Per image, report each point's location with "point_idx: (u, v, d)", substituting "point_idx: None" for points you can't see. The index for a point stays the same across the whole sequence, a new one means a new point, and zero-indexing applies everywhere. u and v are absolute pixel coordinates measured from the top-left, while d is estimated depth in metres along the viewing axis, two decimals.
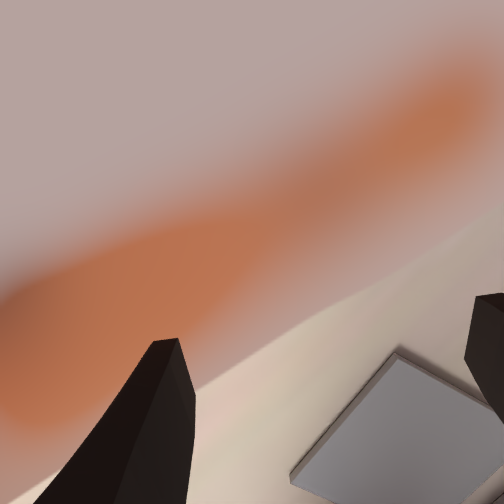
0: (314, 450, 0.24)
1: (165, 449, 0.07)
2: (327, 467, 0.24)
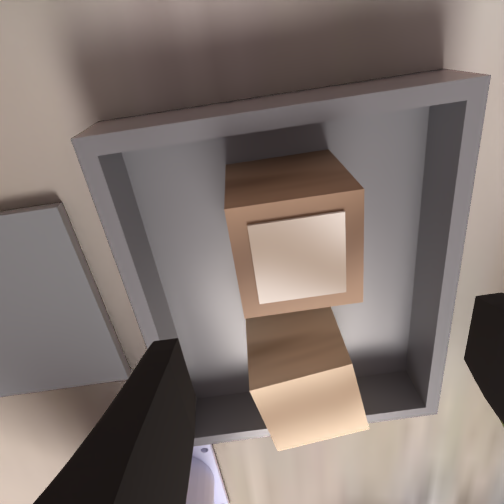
0: None
1: (165, 449, 0.07)
2: None
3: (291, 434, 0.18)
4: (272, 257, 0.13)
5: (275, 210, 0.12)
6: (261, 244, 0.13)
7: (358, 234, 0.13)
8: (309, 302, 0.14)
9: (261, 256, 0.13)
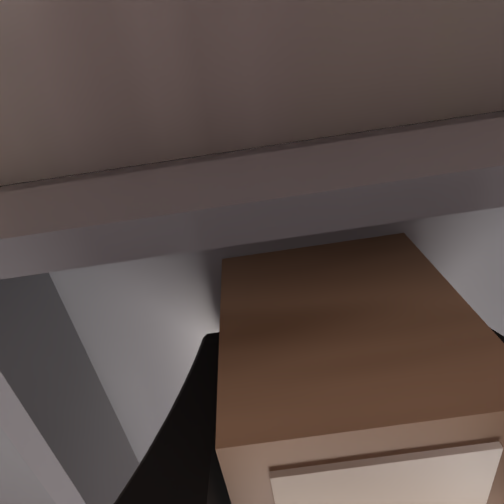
0: None
1: None
2: None
3: None
4: None
5: (337, 445, 0.05)
6: (299, 499, 0.06)
7: None
8: None
9: None
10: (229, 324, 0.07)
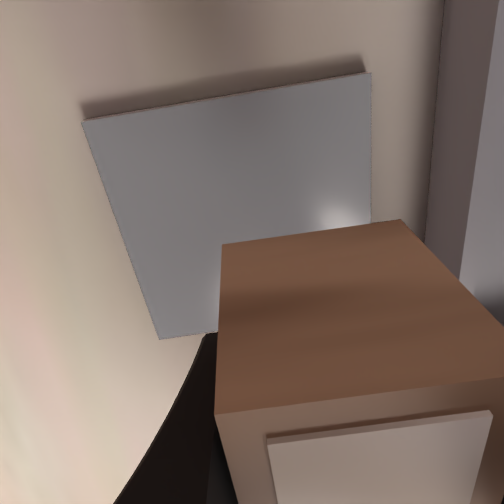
0: (144, 292, 0.19)
1: None
2: (172, 300, 0.19)
3: None
4: (319, 486, 0.06)
5: (332, 412, 0.05)
6: (295, 469, 0.06)
7: None
8: None
9: (295, 490, 0.06)
10: (228, 303, 0.07)
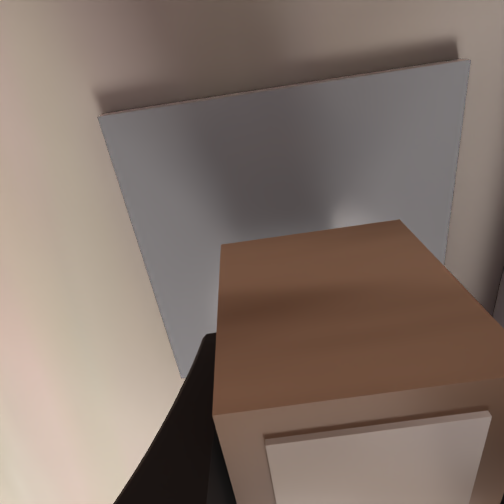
0: (166, 324, 0.15)
1: None
2: (200, 333, 0.15)
3: None
4: (318, 487, 0.06)
5: (331, 413, 0.05)
6: (294, 469, 0.06)
7: None
8: None
9: (293, 491, 0.06)
10: (227, 304, 0.07)
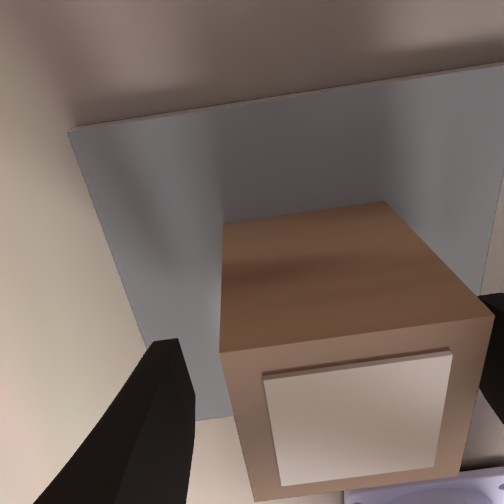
0: None
1: (165, 449, 0.07)
2: (195, 376, 0.13)
3: None
4: (308, 422, 0.07)
5: (318, 351, 0.06)
6: (287, 404, 0.07)
7: (469, 386, 0.07)
8: (367, 479, 0.08)
9: (287, 424, 0.07)
10: (230, 271, 0.08)
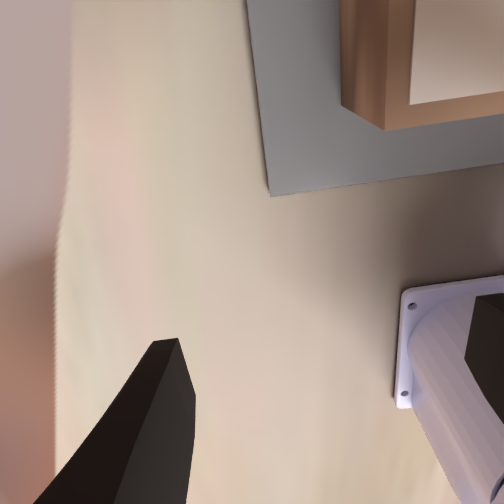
0: (262, 132, 0.16)
1: (165, 449, 0.07)
2: (295, 141, 0.16)
3: None
4: (439, 26, 0.10)
5: None
6: (428, 3, 0.10)
7: None
8: (472, 106, 0.11)
9: (426, 22, 0.10)
10: None
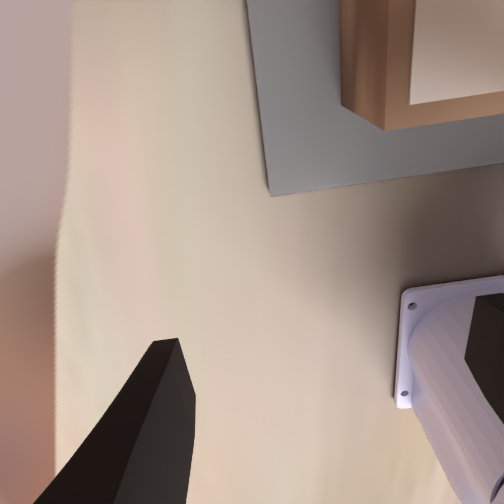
0: (262, 132, 0.16)
1: (165, 449, 0.07)
2: (295, 141, 0.16)
3: None
4: (439, 26, 0.10)
5: None
6: (428, 3, 0.10)
7: None
8: (472, 106, 0.11)
9: (426, 22, 0.10)
10: None
